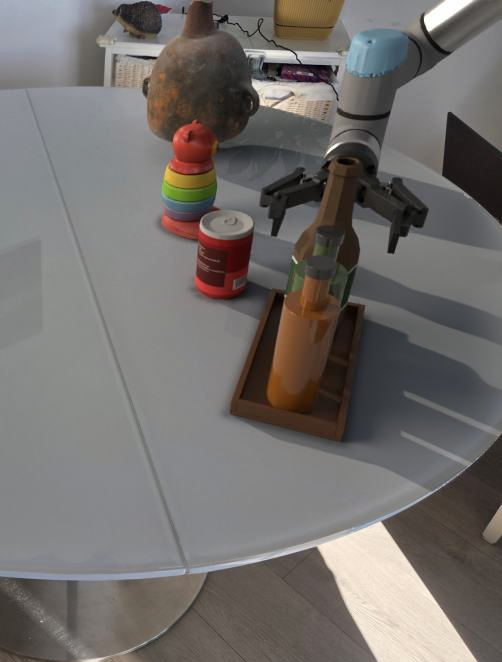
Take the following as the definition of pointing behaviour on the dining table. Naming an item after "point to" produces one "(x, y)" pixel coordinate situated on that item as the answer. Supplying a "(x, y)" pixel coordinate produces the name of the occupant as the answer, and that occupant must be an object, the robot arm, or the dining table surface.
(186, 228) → the stacking bear
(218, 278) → the canned food
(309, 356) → the amber bottle
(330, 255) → the green bottle
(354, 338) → the tray
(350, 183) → the beer bottle
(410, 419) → the dining table surface
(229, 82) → the jug
